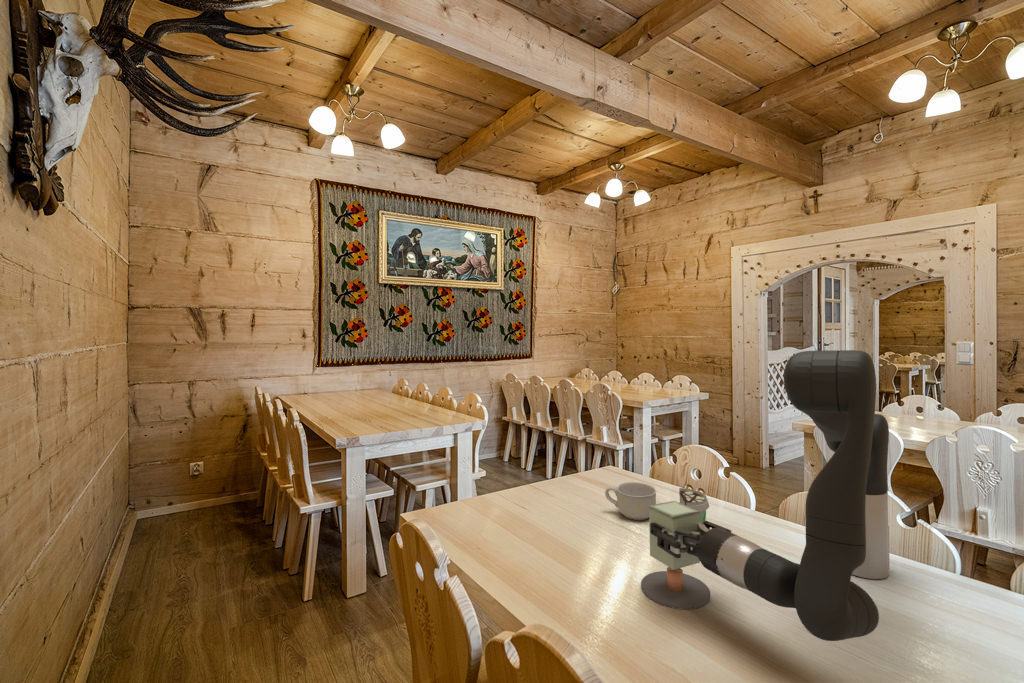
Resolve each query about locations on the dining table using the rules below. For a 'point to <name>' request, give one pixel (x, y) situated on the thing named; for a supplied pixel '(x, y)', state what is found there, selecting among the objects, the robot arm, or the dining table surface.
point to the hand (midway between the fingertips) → (665, 524)
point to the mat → (688, 598)
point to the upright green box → (672, 519)
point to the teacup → (633, 499)
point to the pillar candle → (675, 579)
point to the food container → (694, 501)
